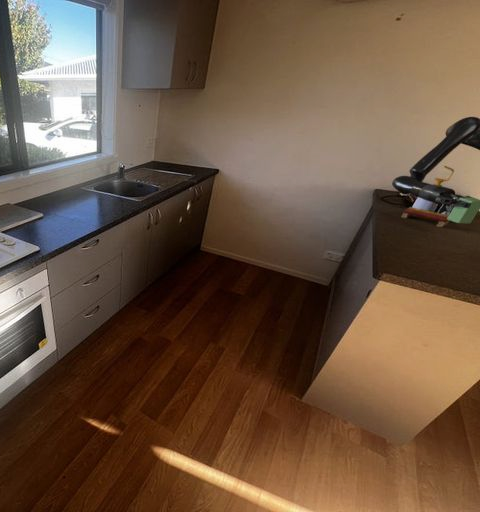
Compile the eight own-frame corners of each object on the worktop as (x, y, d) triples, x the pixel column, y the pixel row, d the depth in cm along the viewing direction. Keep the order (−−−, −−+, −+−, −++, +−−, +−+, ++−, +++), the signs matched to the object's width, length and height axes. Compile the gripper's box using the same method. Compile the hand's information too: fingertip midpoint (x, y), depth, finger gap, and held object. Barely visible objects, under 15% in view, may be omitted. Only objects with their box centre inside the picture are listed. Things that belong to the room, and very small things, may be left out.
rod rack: (447, 224, 147) (452, 215, 145) (441, 227, 145) (447, 218, 142) (406, 215, 160) (411, 206, 157) (400, 217, 157) (405, 208, 155)
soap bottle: (412, 206, 172) (437, 164, 160) (434, 210, 166) (461, 167, 154) (410, 209, 167) (435, 166, 155) (432, 214, 161) (460, 169, 149)
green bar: (458, 219, 130) (471, 197, 125) (470, 223, 125) (485, 201, 121) (446, 219, 130) (459, 197, 125) (458, 223, 126) (472, 201, 121)
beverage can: (455, 222, 150) (470, 200, 144) (439, 220, 152) (453, 198, 146) (446, 217, 156) (460, 196, 150) (431, 216, 158) (444, 194, 152)
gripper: (424, 186, 135) (463, 197, 120) (456, 186, 134) (500, 197, 119) (416, 201, 138) (453, 214, 124) (447, 201, 138) (488, 214, 123)
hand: (476, 205), depth 122 cm, fingers closed on green bar, 5 cm apart
